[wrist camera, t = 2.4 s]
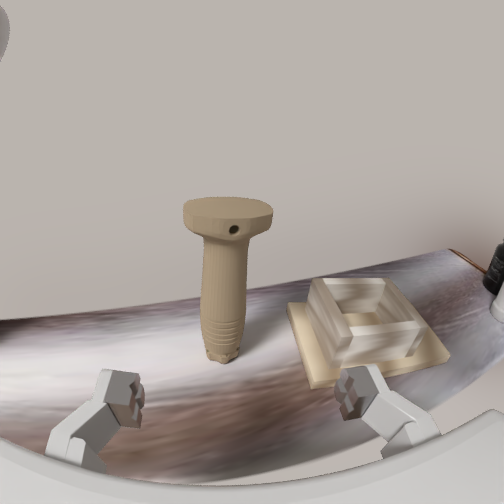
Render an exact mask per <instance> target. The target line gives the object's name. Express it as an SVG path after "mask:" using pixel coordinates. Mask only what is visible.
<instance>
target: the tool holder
mask: <svg viewBox="0 0 504 504" xmlns="http://www.w3.org/2000/svg"><path fill="white" fill-rule="evenodd" d="M286 311H287V314H288V317H289V320H290V323H291V326H292V330H293V333H294V336H295V339H296V342H297V346H298V349H299V352H300V355H301V358H302V362H303V365H304V368H305V371H306V375H307V378H308V381H309V385H310V388H311V389H317V388H326V387H333V386H335V383H336V381H337V380H338V379H339V378H340V372H341V370H342V369H344V368H350V367H356V366H362V365H363V366H364V365H370V364H375V365H377V367H378V369H379V371H380V372H381V374H382V376H383V378H386V377H391V376H396V375H400V374H404V373H409V372H413V371H417V370H421V369H424V368H428V367H432V366H435V365H439V364H442V363H446V362H447V361H448V359H449V358H450V356H451V355H450V353H449V352H448V351H447V349H446V348H445V346H444V345H443V344H442V342H441V341H440V340H439V338H438V337H437V336H436V334H435V333H434V332H433V330H432V329H431V328H430V327H429V325H428V324H427V323H426V321H425V320H424V319H423V318H422V316H421V315H420V314H419V313H418V311H417V310H416V309H415V308H414V306H413V305H412V304H411V303H410V302H409V300H408V299H407V298H406V297H405V296H404V295H403V294H402V293H401V291H400V290H399V289H398V288H397V287H396V285H395V284H394V283H393V282H392V281H391V280H390V278H312V281H311V286H310V290H309V294H308V298H307V302H288V305H287V310H286Z"/></svg>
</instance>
